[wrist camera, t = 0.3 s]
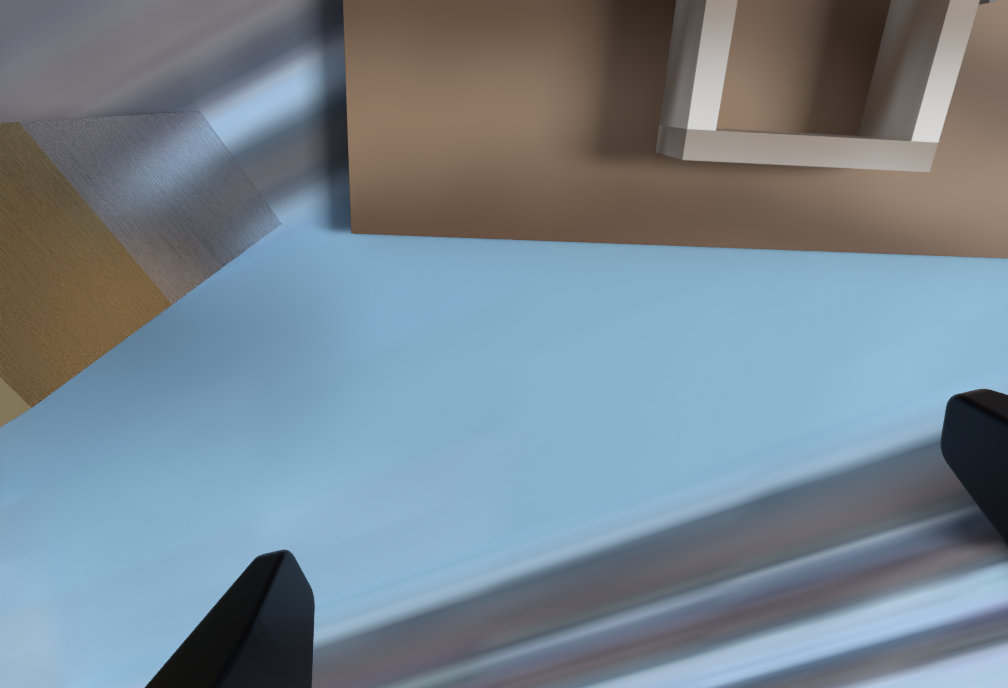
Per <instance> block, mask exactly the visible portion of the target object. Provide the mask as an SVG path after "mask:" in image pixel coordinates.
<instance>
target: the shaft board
mask: <svg viewBox="0 0 1008 688" xmlns="http://www.w3.org/2000/svg"><path fill="white" fill-rule="evenodd" d="M343 15H344V43H345V70H346V98H347V126H348V153H349V181H350V208H351V233H354V234H381V235H407V236H433V237H460V238H486V239H513V240H539V241H565V242H592V243H618V244H644V245H671V246H697V247H724V248H750V249H776V250H803V251H829V252H855V253H882V254H908V255H935V256H961V257H987V258H1008V0H343Z"/></svg>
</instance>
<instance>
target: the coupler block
mask: <svg viewBox="0 0 1008 688" xmlns="http://www.w3.org/2000/svg"><path fill="white" fill-rule="evenodd" d="M280 225H281V222H280V221H279V220H278V218H277V217H276V216H275V214H274V213H273V211H272V210H271V209H270V207H269V206H268V204H267V203H266V202H265V200H264V199H263V198H262V196H261V195H260V193H259V192H258V191H257V189H256V188H255V187H254V185H253V184H252V182H251V181H250V180H249V178H248V177H247V176H246V174H245V173H244V171H243V170H242V169H241V167H240V166H239V164H238V163H237V162H236V160H235V159H234V158H233V156H232V155H231V153H230V152H229V151H228V149H227V148H226V147H225V145H224V144H223V142H222V141H221V140H220V138H219V137H218V135H217V134H216V133H215V131H214V130H213V129H212V127H211V126H210V124H209V123H208V122H207V120H206V119H205V118H204V116H203V115H202V113H201V112H200V111H193V112H177V113H160V114H144V115H128V116H112V117H96V118H80V119H64V120H47V121H31V122H15V123H0V427H1V426H3V425H5V424H6V423H8V422H9V421H11V420H13V419H14V418H16V417H18V416H19V415H21V414H22V413H24V412H26V411H27V410H29V409H31V408H32V407H33V406H35V405H36V404H38V403H39V402H40V401H42V400H43V399H44V398H46V397H47V396H48V395H50V394H51V393H52V392H54V391H55V390H57V389H58V388H59V387H61V386H62V385H63V384H65V383H66V382H67V381H69V380H70V379H72V378H73V377H74V376H76V375H77V374H78V373H80V372H81V371H82V370H84V369H85V368H86V367H88V366H89V365H91V364H92V363H93V362H95V361H96V360H97V359H99V358H100V357H101V356H103V355H104V354H106V353H107V352H108V351H110V350H111V349H112V348H114V347H115V346H116V345H118V344H119V343H120V342H122V341H123V340H125V339H126V338H127V337H129V336H130V335H131V334H133V333H134V332H135V331H137V330H138V329H140V328H141V327H142V326H144V325H145V324H146V323H148V322H149V321H150V320H152V319H153V318H154V317H156V316H157V315H159V314H160V313H161V312H163V311H164V310H165V309H167V308H168V307H169V306H171V305H172V304H174V303H175V302H176V301H178V300H179V299H180V298H182V297H183V296H184V295H186V294H187V293H188V292H190V291H191V290H193V289H194V288H195V287H197V286H198V285H199V284H201V283H202V282H203V281H205V280H206V279H208V278H209V277H210V276H212V275H213V274H214V273H216V272H217V271H218V270H220V269H221V268H222V267H224V266H225V265H227V264H228V263H229V262H231V261H232V260H233V259H235V258H236V257H237V256H239V255H240V254H242V253H243V252H244V251H246V250H247V249H248V248H250V247H251V246H252V245H254V244H255V243H256V242H258V241H259V240H261V239H262V238H263V237H265V236H266V235H267V234H269V233H270V232H271V231H273V230H274V229H276V228H277V227H278V226H280Z"/></svg>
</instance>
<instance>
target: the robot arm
mask: <svg viewBox="0 0 1008 688" xmlns="http://www.w3.org/2000/svg"><path fill="white" fill-rule="evenodd" d="M940 445H941V451H942V455H943V457H944V459H945V461H946V462H947V464H948V465H949V467H950V468H951V469H952V471H953V472H954V474H955V475H956V476H957V478H958V479H959V480H960V482H961V483H962V485H963V486H964V487H965V489H966V490H967V492H968V493H969V494H970V496H971V497H972V498H973V500H974V501H975V503H976V504H977V505H978V507H979V508H980V510H981V511H982V512H983V514H984V515H985V517H986V518H987V519H988V521H989V522H990V523H991V525H992V526H993V528H994V529H995V530H996V532H997V533H998V535H999V536H1000V537H1001V539H1002V540H1003V541H1004V543H1005V544H1006V546H1007V547H1008V395H1006V394H1003V393H999V392H996V391H992V390H988V389H978V390H973V391H969V392H965V393H960V394H956V395H954V396H952V397H951V398H950V399H949V401H948V402H947V405H946V411H945V417H944V423H943V429H942V435H941V441H940ZM314 609H315V603H314V595H313V592H312V589H311V586H310V584H309V583H308V581H307V579H306V577H305V575H304V573H303V572H302V570H301V568H300V566H299V564H298V562H297V561H296V559H295V557H294V556H293V554H292V553H291V552H290V551H288V550H279V551H275V552H271V553H266V554H262V555H260V556H258V557H256V558H255V559H254V560H253V561H252V562H251V564H250V565H249V566H248V567H247V568H246V569H245V571H244V572H243V573H242V574H241V575H240V576H239V578H238V579H237V580H236V581H235V582H234V584H233V585H232V586H231V587H230V588H229V589H228V591H227V592H226V593H225V594H224V595H223V596H222V598H221V599H220V600H219V601H218V602H217V603H216V605H215V606H214V607H213V608H212V609H211V610H210V612H209V613H208V614H207V615H206V616H205V618H204V619H203V620H202V621H201V622H200V623H199V625H198V626H197V627H196V628H195V629H194V630H193V632H192V633H191V634H190V635H189V636H188V637H187V639H186V640H185V641H184V642H183V643H182V644H181V646H180V647H179V648H178V649H177V650H176V652H175V653H174V654H173V655H172V656H171V657H170V659H169V660H168V661H167V662H166V663H165V664H164V666H163V667H162V668H161V669H160V670H159V671H158V673H157V674H156V675H155V676H154V677H153V679H152V680H151V681H150V682H149V683H148V684H147V686H146V687H145V688H312V664H313V637H314Z"/></svg>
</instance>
